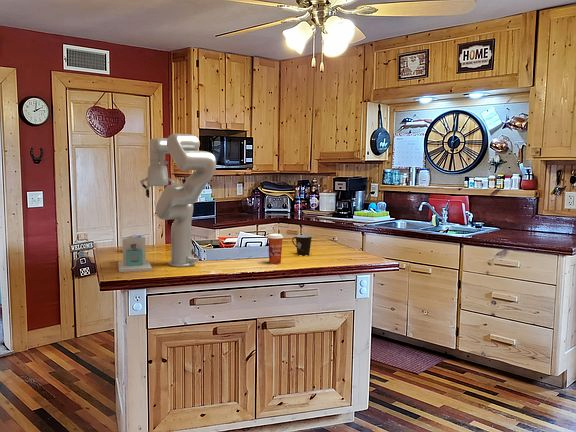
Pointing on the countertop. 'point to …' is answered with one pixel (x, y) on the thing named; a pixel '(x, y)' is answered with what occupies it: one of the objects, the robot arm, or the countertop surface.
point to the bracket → (134, 255)
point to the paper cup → (275, 248)
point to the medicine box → (134, 236)
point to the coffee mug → (303, 244)
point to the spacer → (134, 263)
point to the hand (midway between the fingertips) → (158, 197)
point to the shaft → (134, 246)
